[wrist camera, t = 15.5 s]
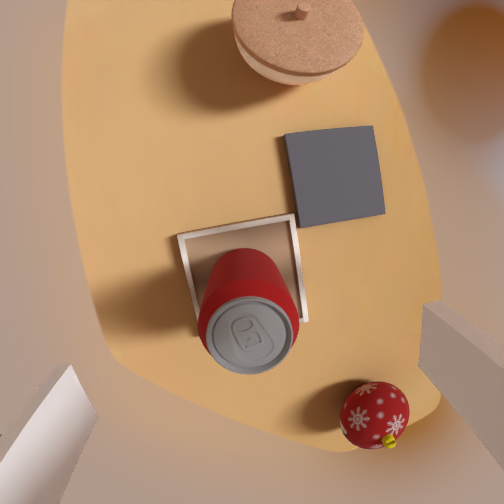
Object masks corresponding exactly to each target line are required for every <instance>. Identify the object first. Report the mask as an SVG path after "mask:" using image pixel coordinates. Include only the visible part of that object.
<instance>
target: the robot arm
mask: <svg viewBox="0 0 504 504" xmlns="http://www.w3.org/2000/svg"><path fill="white" fill-rule="evenodd" d="M418 367H419V368H420V369H421V370H422V371H423V372H424V374H425V375H426V376H427V377H428V378H429V379H430V380H431V382H432V383H433V384H434V385H435V386H436V387H437V389H438V390H439V391H440V392H441V393H442V394H443V396H444V397H445V398H446V399H447V400H448V402H449V403H450V404H451V405H452V406H453V407H454V409H455V410H456V411H457V412H458V414H459V415H460V416H461V417H462V418H463V420H464V421H465V422H466V423H467V424H468V426H469V427H470V428H471V429H472V431H473V432H474V433H475V434H476V436H477V437H478V438H479V439H480V441H481V442H482V443H483V445H484V446H485V447H486V448H487V449H488V451H489V452H490V453H491V455H492V456H493V457H494V458H495V460H496V461H497V462H498V464H499V465H500V466H501V468H502V469H503V470H504V346H503V345H502V344H501V343H500V342H498V341H497V340H495V339H494V338H493V337H491V336H490V335H489V334H487V333H486V332H485V331H483V330H482V329H481V328H479V327H478V326H476V325H475V324H474V323H472V322H471V321H469V320H468V319H467V318H465V317H464V316H462V315H461V314H460V313H458V312H457V311H455V310H454V309H452V308H451V307H449V306H448V305H447V304H445V303H444V302H442V301H441V300H436V301H433V302H430V303H427V304H423V315H422V330H421V342H420V353H419V362H418ZM97 420H98V416H97V414H96V412H95V411H94V409H93V407H92V405H91V403H90V401H89V400H88V398H87V396H86V394H85V392H84V390H83V388H82V386H81V384H80V382H79V380H78V378H77V376H76V374H75V372H74V370H73V368H72V366H71V364H61V365H56V366H55V367H54V368H53V369H52V371H51V372H50V373H49V374H48V375H47V377H46V378H45V379H44V380H43V381H42V383H41V384H40V385H39V386H38V388H37V389H36V390H35V391H34V393H33V394H32V395H31V397H30V398H29V399H28V401H27V402H26V403H25V404H24V406H23V407H22V408H21V410H20V411H19V412H18V413H17V415H16V416H15V417H14V419H13V420H12V421H11V423H10V424H9V425H8V427H7V428H6V430H5V431H4V432H3V433H2V434H1V435H0V504H59V503H60V500H61V498H62V496H63V493H64V491H65V489H66V486H67V484H68V482H69V480H70V477H71V475H72V473H73V471H74V468H75V466H76V464H77V462H78V460H79V457H80V455H81V453H82V451H83V449H84V447H85V444H86V443H87V440H88V438H89V436H90V434H91V432H92V430H93V428H94V426H95V424H96V422H97Z"/></svg>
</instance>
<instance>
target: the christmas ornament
mask: <svg viewBox="0 0 504 504" xmlns="http://www.w3.org/2000/svg"><path fill="white" fill-rule="evenodd" d="M408 419H409V404H408V401H407V399H406V397H405V395H404V394H403V393H402V391H401V390H400V389H398V388H397V387H396V386H394V385H392V384H389V383H386V382H370V383H367V384H364V385H362V386H360V387H358V388H357V389H355V390H354V391H353V392H352V393H351V394H350V395H349V396H348V397H347V399H346V400H345V402H344V404H343V406H342V408H341V412H340V426H341V429H342V432H343V434H344V435H345V437H346V438H347V439H348V440H349V441H350V442H351V443H352V444H354V445H356V446H358V447H360V448H364V449H377V448H382V447H385V446H386V448H388V449H389V448H392V447H394V446H395V445H396V442H395V440H396V439H397V438H398V437H399V436H400V435H401V434H402V432H403V431H404V429H405V428H406V425H407V423H408Z"/></svg>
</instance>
